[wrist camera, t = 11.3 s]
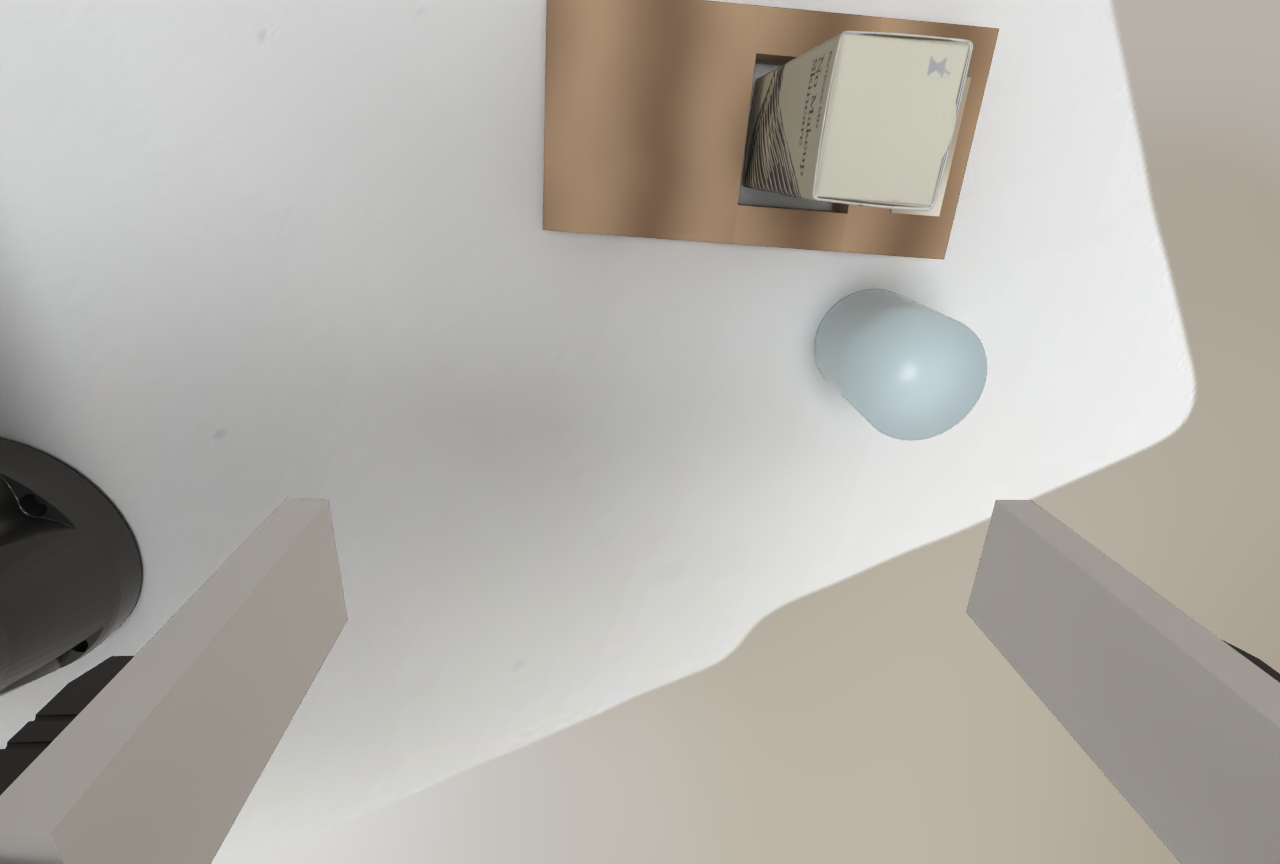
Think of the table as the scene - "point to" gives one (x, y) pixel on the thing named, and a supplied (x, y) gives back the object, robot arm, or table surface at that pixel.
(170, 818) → the robot arm
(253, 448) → the table surface
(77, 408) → the table surface
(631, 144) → the brown flat wooden slab
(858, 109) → the box
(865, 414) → the pale blue capsule
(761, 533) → the table surface
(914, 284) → the table surface
